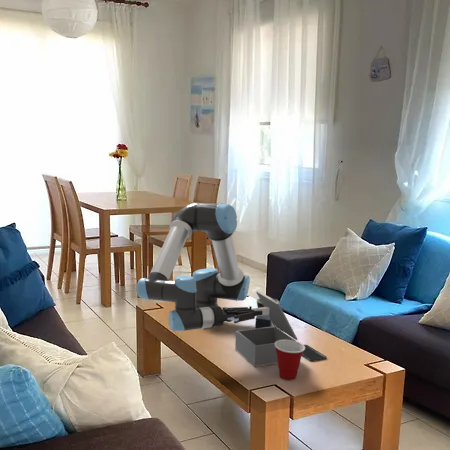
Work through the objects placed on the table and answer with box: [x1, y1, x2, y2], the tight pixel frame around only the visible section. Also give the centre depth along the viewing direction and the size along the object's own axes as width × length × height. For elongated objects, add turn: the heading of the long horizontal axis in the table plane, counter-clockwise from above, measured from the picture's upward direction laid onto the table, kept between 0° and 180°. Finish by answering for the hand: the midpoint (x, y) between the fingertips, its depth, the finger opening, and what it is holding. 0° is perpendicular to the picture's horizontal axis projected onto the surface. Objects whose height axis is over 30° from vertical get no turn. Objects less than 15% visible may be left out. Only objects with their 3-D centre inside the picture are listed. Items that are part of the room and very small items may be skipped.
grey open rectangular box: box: [234, 325, 297, 368], centre depth 219 cm, size 18×17×8 cm
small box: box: [254, 315, 274, 329], centre depth 237 cm, size 11×6×10 cm, turn 168°
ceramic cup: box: [256, 298, 280, 308], centre depth 261 cm, size 13×10×10 cm
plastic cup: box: [274, 340, 305, 381], centre depth 199 cm, size 11×11×12 cm
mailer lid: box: [255, 290, 299, 341], centre depth 219 cm, size 18×17×1 cm
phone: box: [301, 344, 327, 363], centre depth 222 cm, size 8×1×15 cm
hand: (268, 310), depth 217 cm, fingers closed
